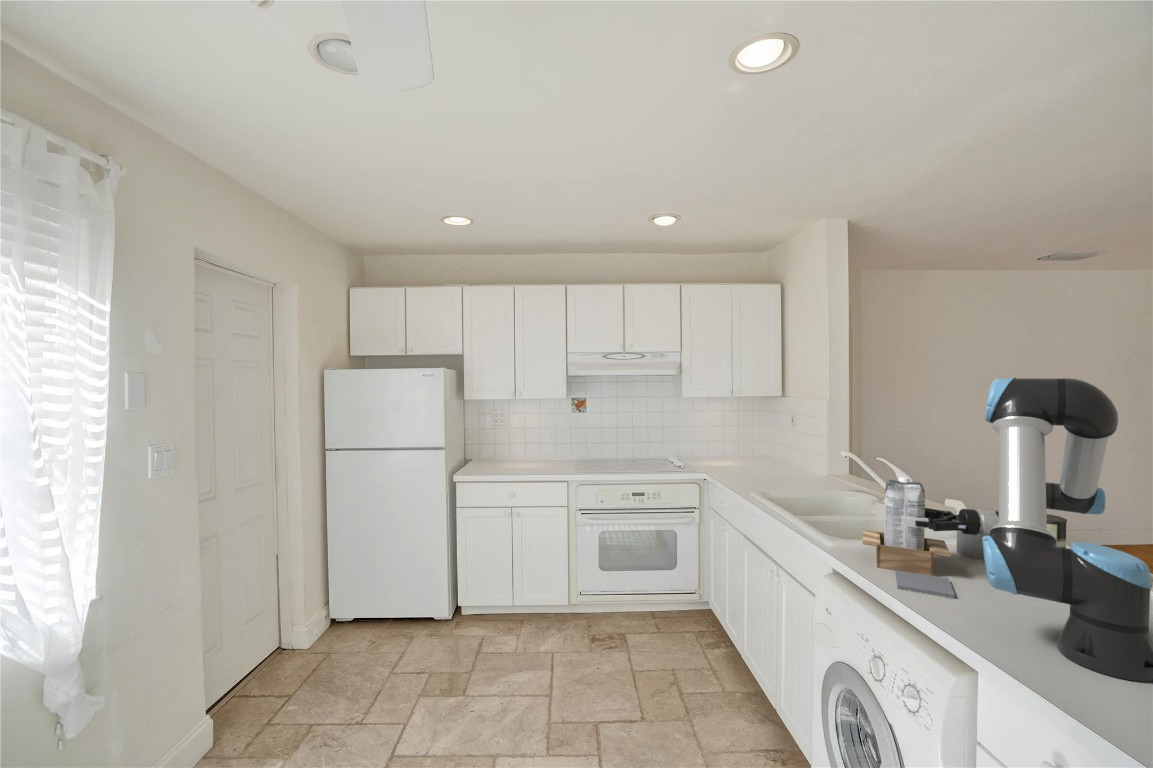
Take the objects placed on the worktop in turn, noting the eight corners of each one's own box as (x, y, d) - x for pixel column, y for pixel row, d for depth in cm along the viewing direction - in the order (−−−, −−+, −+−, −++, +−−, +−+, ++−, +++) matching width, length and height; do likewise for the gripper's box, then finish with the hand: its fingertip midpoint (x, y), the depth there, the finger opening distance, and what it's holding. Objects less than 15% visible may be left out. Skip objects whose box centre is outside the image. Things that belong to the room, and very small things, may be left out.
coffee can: (1051, 555, 174) (1052, 513, 173) (1074, 567, 164) (1075, 522, 163) (1015, 553, 176) (1016, 511, 175) (1036, 564, 166) (1037, 520, 165)
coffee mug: (959, 556, 172) (959, 526, 172) (954, 547, 181) (954, 519, 181) (1011, 563, 166) (1011, 532, 166) (1003, 554, 175) (1003, 524, 175)
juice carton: (924, 571, 159) (926, 482, 158) (884, 565, 164) (885, 479, 164) (922, 562, 167) (923, 477, 166) (883, 556, 172) (885, 474, 171)
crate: (950, 579, 153) (950, 555, 153) (862, 565, 164) (862, 542, 164) (943, 562, 167) (944, 540, 167) (862, 550, 178) (863, 529, 178)
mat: (954, 598, 140) (954, 594, 140) (897, 588, 146) (897, 585, 146) (948, 581, 151) (948, 578, 151) (895, 573, 158) (895, 569, 158)
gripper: (993, 547, 147) (906, 539, 154) (962, 523, 171) (887, 517, 178) (994, 521, 147) (907, 513, 154) (962, 500, 171) (888, 495, 178)
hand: (896, 515), depth 166 cm, fingers open, 13 cm apart
